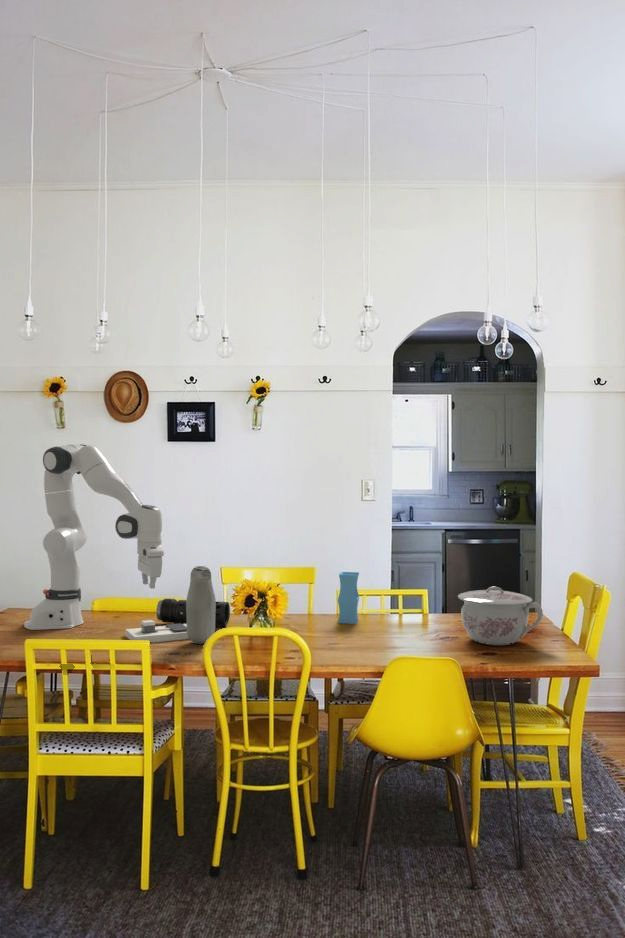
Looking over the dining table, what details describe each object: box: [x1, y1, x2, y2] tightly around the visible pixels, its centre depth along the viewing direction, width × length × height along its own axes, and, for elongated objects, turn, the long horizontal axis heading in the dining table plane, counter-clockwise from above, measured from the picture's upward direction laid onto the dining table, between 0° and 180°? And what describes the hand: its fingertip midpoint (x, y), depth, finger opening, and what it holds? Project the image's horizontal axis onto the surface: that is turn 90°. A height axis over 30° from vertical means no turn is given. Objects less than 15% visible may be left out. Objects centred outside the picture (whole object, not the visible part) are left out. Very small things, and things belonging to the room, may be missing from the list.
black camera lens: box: [156, 598, 231, 628], centre depth 325 cm, size 10×28×10 cm, turn 81°
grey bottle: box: [186, 565, 217, 645], centre depth 295 cm, size 10×10×28 cm
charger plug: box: [141, 619, 156, 634], centre depth 301 cm, size 4×4×6 cm
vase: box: [337, 571, 360, 625], centre depth 336 cm, size 8×8×20 cm
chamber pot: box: [457, 586, 544, 647], centre depth 303 cm, size 28×28×21 cm
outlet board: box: [125, 623, 190, 644], centre depth 304 cm, size 24×14×3 cm, turn 117°
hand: (148, 586), depth 302 cm, fingers open, 8 cm apart
